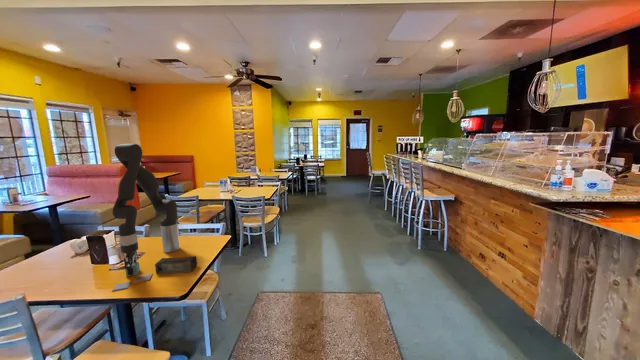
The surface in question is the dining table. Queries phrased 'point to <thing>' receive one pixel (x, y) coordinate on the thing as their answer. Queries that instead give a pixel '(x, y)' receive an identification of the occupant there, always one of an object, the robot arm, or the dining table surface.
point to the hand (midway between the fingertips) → (132, 271)
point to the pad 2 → (143, 278)
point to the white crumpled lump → (79, 245)
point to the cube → (134, 269)
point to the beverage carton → (176, 265)
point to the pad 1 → (121, 286)
